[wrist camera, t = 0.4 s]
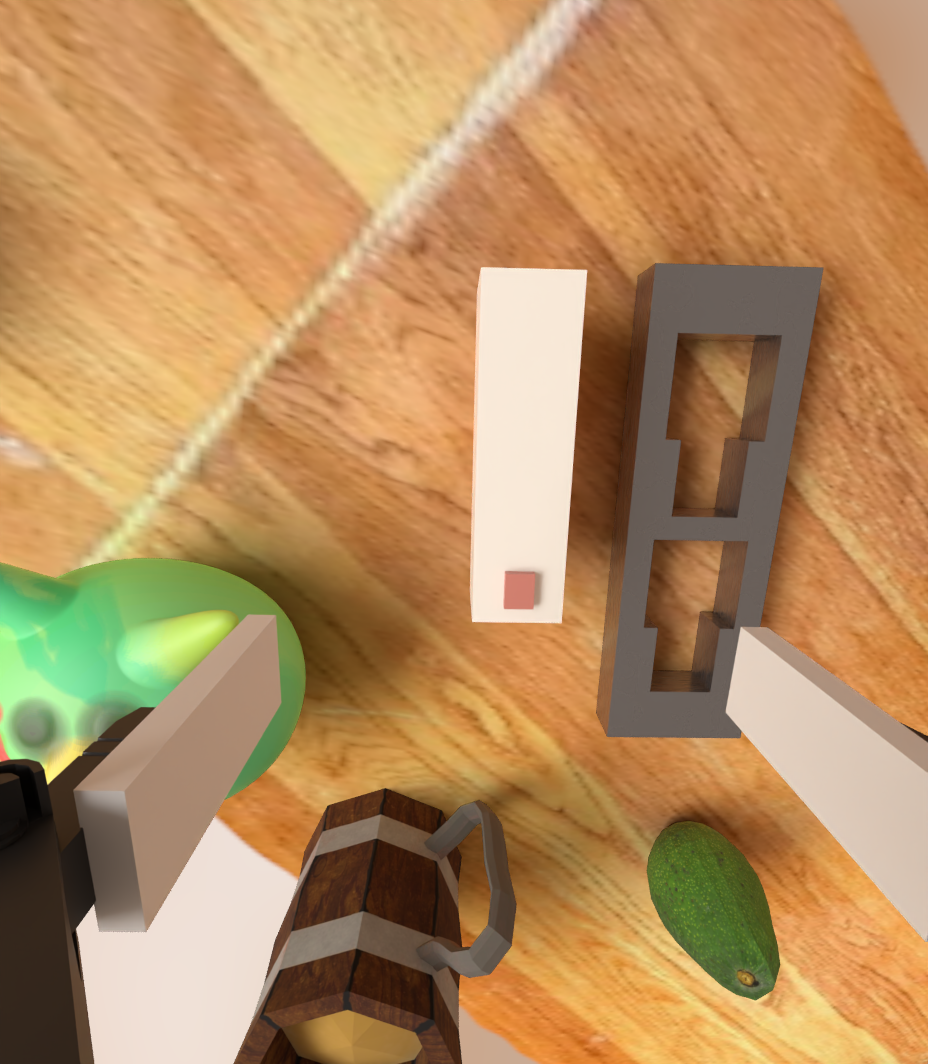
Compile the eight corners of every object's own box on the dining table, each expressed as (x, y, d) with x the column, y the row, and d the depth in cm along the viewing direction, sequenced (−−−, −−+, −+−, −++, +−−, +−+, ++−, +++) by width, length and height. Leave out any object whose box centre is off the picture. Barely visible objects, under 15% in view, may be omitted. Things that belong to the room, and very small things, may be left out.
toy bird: (93, 711, 40) (-109, 882, 26) (81, 503, 36) (-165, 569, 22) (321, 735, 41) (249, 914, 27) (336, 534, 37) (260, 617, 22)
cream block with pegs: (474, 305, 33) (481, 264, 23) (551, 307, 33) (589, 267, 23) (468, 568, 37) (472, 625, 28) (535, 569, 38) (563, 627, 28)
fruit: (641, 883, 45) (706, 1051, 33) (621, 812, 43) (681, 963, 31) (730, 860, 44) (828, 1022, 33) (714, 787, 42) (811, 931, 31)
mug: (381, 939, 46) (345, 1186, 32) (271, 849, 43) (178, 1073, 29) (548, 819, 43) (594, 1031, 29) (442, 715, 40) (433, 890, 26)
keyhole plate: (637, 275, 33) (655, 263, 30) (791, 279, 33) (823, 267, 30) (596, 712, 41) (607, 736, 38) (720, 714, 41) (740, 738, 38)
